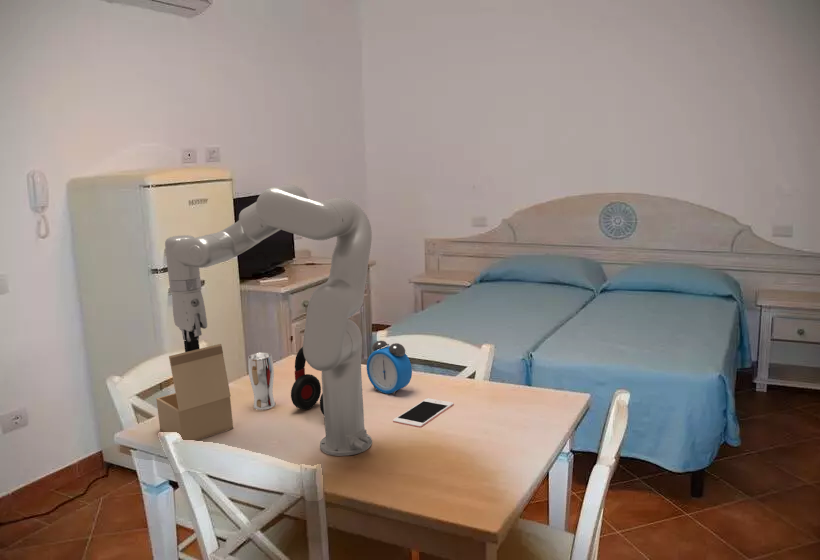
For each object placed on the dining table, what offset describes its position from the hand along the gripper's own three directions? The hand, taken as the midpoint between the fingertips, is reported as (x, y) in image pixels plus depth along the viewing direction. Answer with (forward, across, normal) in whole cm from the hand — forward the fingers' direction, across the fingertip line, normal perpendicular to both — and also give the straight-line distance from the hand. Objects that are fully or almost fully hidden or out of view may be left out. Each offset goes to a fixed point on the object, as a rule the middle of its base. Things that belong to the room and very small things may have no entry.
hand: (192, 355), depth 178 cm
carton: (+21, +3, 0) cm, 21 cm away
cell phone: (+22, -34, -48) cm, 63 cm away
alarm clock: (+21, -14, -53) cm, 59 cm away
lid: (+5, -3, 0) cm, 6 cm away
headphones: (+21, -13, -29) cm, 38 cm away
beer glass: (+21, +4, -21) cm, 30 cm away
